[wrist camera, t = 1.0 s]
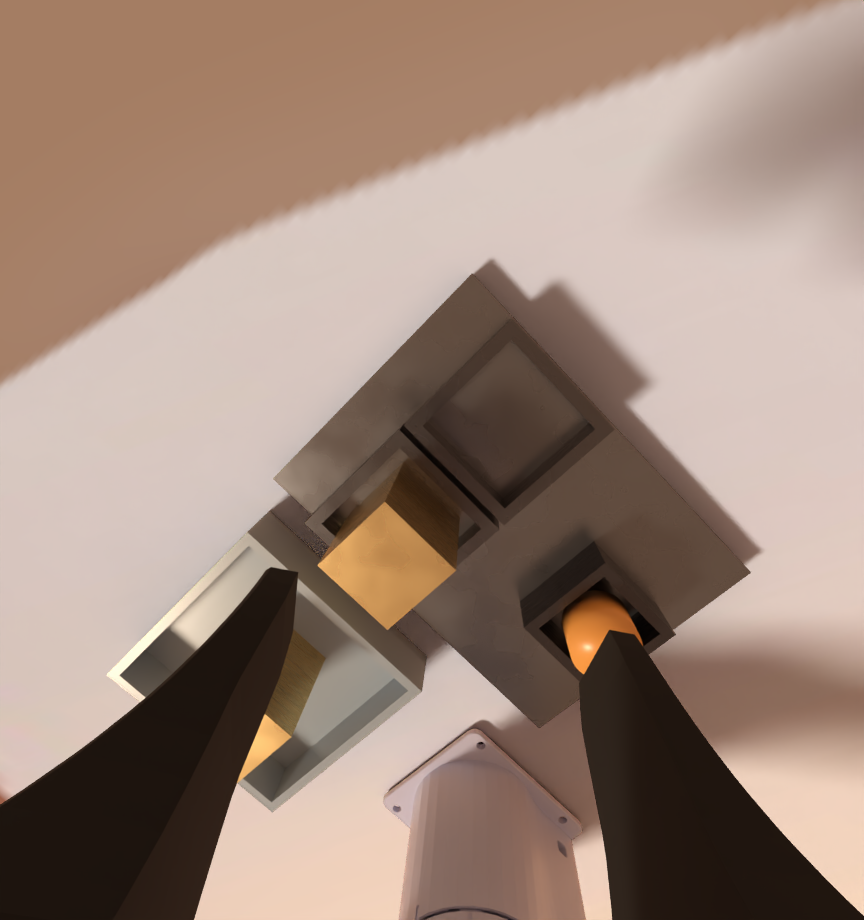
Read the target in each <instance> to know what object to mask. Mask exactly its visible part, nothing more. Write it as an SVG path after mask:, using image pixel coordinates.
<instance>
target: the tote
mask: <svg viewBox="0 0 864 920" xmlns="http://www.w3.org/2000/svg"><path fill="white" fill-rule="evenodd" d="M320 560H321V558H320V557H319V556H318V555H317V554H316V553H315V552H313V551H312V550H311V549H310V548H309V547H308V546H307V545H306V544H305V543H304V542H303V541H302V540H301V539H299V538H298V537H297V536H296V535H295V534H294V533H293V532H292V531H291V530H290V529H289V528H288V527H286V526H285V525H284V524H283V523H282V522H281V521H280V520H279V519H278V518H277V517H276V516H275V515H274V514H272V513H271V512H270V511H269V512H268V513H267V514H266V515H265V516H264V517H263V518H262V519H261V520H260V521H258V522H257V523H256V524H255V525H254V526H253V527H252V528H251V529H250V530H249V531H248V532H247V533H246V534H245V535H244V536H243V537H242V538H241V539H240V540H239V541H238V542H237V543H236V544H235V545H234V546H233V547H232V548H231V549H230V550H229V551H228V552H227V553H226V554H225V555H224V556H223V557H222V558H221V559H220V560H219V561H218V562H217V563H216V564H215V566H214V567H213V568H212V569H211V570H210V571H209V572H208V573H207V574H206V575H205V576H204V577H203V578H202V579H201V580H200V581H199V582H198V583H197V584H196V585H195V586H194V587H193V588H192V589H191V590H190V591H189V592H188V593H187V594H186V595H185V596H184V597H183V598H182V599H181V600H180V601H179V602H178V603H177V604H176V605H175V606H174V607H173V608H172V609H171V610H170V611H169V612H168V613H167V614H166V615H165V616H164V617H163V618H162V619H161V620H160V621H159V622H158V623H157V624H156V625H155V626H154V627H153V628H152V629H151V630H150V631H149V632H148V633H147V634H146V635H145V636H144V637H143V638H142V639H141V640H140V641H139V642H138V643H137V644H136V645H135V646H134V647H133V649H132V650H131V651H130V652H129V653H128V654H127V655H126V656H125V657H124V658H123V659H122V660H121V661H120V662H119V663H118V664H117V665H116V666H115V667H114V668H113V669H112V670H111V671H110V672H109V673H108V674H107V676H109V677H110V678H111V679H112V680H113V681H115V682H116V683H117V684H118V685H119V686H121V687H122V688H123V689H124V690H126V691H127V692H128V693H129V694H130V695H132V696H133V697H134V698H135V699H136V700H138V701H139V702H141V701H142V700H143V699H145V698H146V697H147V696H148V695H149V694H150V693H152V692H153V691H154V690H155V689H156V688H157V687H158V686H159V685H161V684H162V683H163V682H164V681H165V680H166V679H167V678H168V677H169V676H170V675H171V674H173V673H174V672H175V671H176V670H177V669H178V668H179V667H180V666H181V665H182V664H183V663H184V662H185V661H186V660H187V659H188V658H189V657H190V656H191V655H192V654H193V653H194V652H195V651H196V650H197V649H198V648H199V647H200V646H201V645H202V644H203V643H204V642H205V641H206V640H207V639H208V638H209V637H210V636H211V635H212V634H213V633H214V632H215V630H216V629H217V628H218V627H219V626H220V625H221V624H222V623H223V622H224V621H225V620H226V619H227V617H228V616H229V615H230V614H231V613H232V612H233V611H234V610H235V608H236V607H237V606H238V605H239V604H240V603H241V601H242V600H243V599H244V598H245V597H246V595H247V594H248V593H249V592H250V590H251V589H252V588H253V587H254V585H255V584H256V583H257V582H258V580H259V579H260V578H261V576H262V575H263V573H264V572H265V571H266V570H267V569H269V568H270V567H274V568H279V569H285V570H290V571H296V572H298V582H297V593H296V604H295V615H294V627H293V629H294V630H295V631H296V632H297V633H298V634H300V635H301V636H302V637H303V638H304V639H305V640H306V641H307V642H308V643H310V644H311V645H312V646H313V647H314V648H315V649H316V650H317V651H319V652H320V653H321V654H322V655H323V656H324V657H325V658H326V659H325V661H324V663H323V666H322V668H321V670H320V673H319V675H318V677H317V679H316V682H315V684H314V686H313V689H312V691H311V693H310V696H309V698H308V700H307V703H306V705H305V707H304V710H303V712H302V714H301V716H300V719H299V721H298V723H297V726H296V728H295V730H294V733H293V735H292V737H291V738H290V739H289V740H287V741H286V742H285V743H284V744H283V745H282V746H280V747H279V748H278V749H277V750H276V751H275V752H273V753H272V754H271V755H270V756H269V757H267V758H266V759H265V760H264V761H263V762H262V763H260V764H259V765H258V766H257V767H256V768H254V769H253V770H252V771H251V772H250V773H249V774H247V775H246V776H245V777H244V778H243V779H242V780H240V781H239V782H238V784H239V785H240V786H241V787H242V788H244V789H245V790H246V791H247V792H248V793H250V794H251V795H252V796H253V797H255V798H256V799H257V800H258V801H259V802H261V803H262V804H263V805H264V806H265V807H267V808H268V809H269V810H270V811H271V812H274V811H275V810H276V809H277V808H279V807H280V806H281V805H282V804H283V803H285V802H286V801H287V800H288V799H290V798H291V797H292V796H293V795H295V794H296V793H297V792H298V791H300V790H301V789H302V788H303V787H305V786H306V785H307V784H308V783H309V782H311V781H312V780H313V779H314V778H316V777H317V776H318V775H319V774H321V773H322V772H323V771H324V770H326V769H327V768H328V767H329V766H330V765H332V764H333V763H334V762H335V761H337V760H338V759H339V758H340V757H342V756H343V755H344V754H345V753H347V752H348V751H349V750H350V749H351V748H353V747H354V746H355V745H356V744H358V743H359V742H360V741H361V740H363V739H364V738H365V737H366V736H368V735H369V734H370V733H371V732H372V731H374V730H375V729H376V728H377V727H379V726H380V725H381V724H382V723H384V722H385V721H386V720H387V719H389V718H390V717H391V716H392V715H393V714H395V713H396V712H397V711H398V710H400V709H401V708H402V707H403V706H405V705H406V704H407V703H408V702H410V701H411V700H412V699H413V698H414V697H416V696H417V695H418V694H419V693H421V692H422V687H423V680H424V673H425V666H426V659H427V656H426V655H425V654H424V653H423V652H422V651H420V650H419V649H418V648H417V647H416V646H415V645H414V644H413V643H412V642H411V641H410V640H409V639H407V638H406V637H405V636H404V635H403V634H402V633H401V632H400V631H399V630H398V629H397V628H396V627H395V626H392V627H390V628H389V629H388V630H387V629H386V628H384V627H383V626H382V625H381V624H380V623H379V622H378V621H377V620H376V619H375V618H374V617H373V616H371V615H370V614H369V613H368V612H367V611H366V610H365V609H364V608H363V607H362V606H361V605H360V604H358V603H357V602H356V601H355V600H354V599H353V598H352V597H351V596H350V595H349V594H348V593H347V592H345V591H344V590H343V589H342V588H341V587H340V586H339V585H338V584H337V583H336V582H335V581H334V580H332V579H331V578H330V577H329V576H328V575H327V574H326V573H325V572H324V571H323V570H322V569H321V568H319V567H318V566H317V565H318V564H319V562H320Z"/></svg>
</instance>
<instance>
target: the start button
mask: <svg viewBox="0 0 864 920" xmlns="http://www.w3.org/2000/svg"><path fill="white" fill-rule="evenodd" d="M562 627H563V631H564V634H565V638H566V642H567V645H568V649H569V652H570V656H571V659H572V662H573V664H574V665H575V667H576V668H577V669H578V670H579V671H580V672H581V673H582V674H585V672H586V670H587V668H588V666H589V665H590V663H591V661H592V659H593V658H594V656H595V654H596V652H597V650H598V649H599V647H600V645H601V643H602V642H603V640H604V638H605V636H606V634H607V633H608V631H609V630H614V631H619V632H625V633H630V634H635V636H636V637H637V639H638V640H639V641H640V643H641V644H642V646H643V643H642V639H641V637H640V635H639V633H638V631H637V629H636V627H635V625H634V623H633V621H632V619H631V617H630V615H629V613H628V611H627V609H626V607H625V606H624V604H623V603H622V602H621V600H620V599H618V598H617V597H616V596H614V595H613V594H611V593H608V592H605V591H598V590H593V591H587V592H584V593H583V594H582V595H580V596H579V597H578V598H577V599H575V600H574V601H573V602H572V603H570V604H569V605H568V606H567V607H565V608H564V611H563V614H562Z"/></svg>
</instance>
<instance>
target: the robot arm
mask: <svg viewBox="0 0 864 920" xmlns="http://www.w3.org/2000/svg"><path fill="white" fill-rule="evenodd" d="M297 582H298V572H296V571H290V570H285V569H279V568H274V567H270V568H269V569H267V570H266V571H265V572H264V573H263V575H262V576H261V578H260V579H259V580H258V582H257V583H256V584H255V585H254V587H253V588H252V589H251V590H250V592H249V593H248V594H247V595H246V597H245V598H244V599H243V600H242V601H241V603H240V604H239V605H238V606H237V607H236V608H235V610H234V611H233V612H232V613H231V614H230V615H229V616H228V617H227V619H226V620H225V621H224V622H223V623H222V624H221V625H220V626H219V627H218V628H217V629H216V630H215V632H214V633H213V634H212V635H211V636H210V637H209V638H208V639H207V640H206V641H205V642H204V643H203V644H202V645H201V646H200V647H199V648H198V649H197V650H196V651H195V652H194V653H193V654H192V655H191V656H190V657H189V658H188V659H187V660H186V661H185V662H184V663H183V664H182V665H181V666H180V667H179V668H178V669H177V670H176V671H175V672H174V673H173V674H171V675H170V676H169V677H168V678H167V679H166V680H165V681H164V682H163V683H162V684H161V685H159V686H158V687H157V688H156V689H155V690H154V691H153V692H152V693H150V694H149V695H148V696H147V697H146V698H145V699H143V700H142V701H141V702H140V703H139V704H137V705H136V706H135V707H134V708H133V709H132V710H130V711H129V712H128V713H127V714H126V715H124V716H123V717H122V718H120V719H119V720H118V721H117V722H115V723H114V724H113V725H112V726H110V727H109V728H108V729H107V730H105V731H104V732H103V733H101V734H100V735H99V736H98V737H96V738H95V739H94V740H92V741H91V742H90V743H88V744H87V745H86V746H84V747H83V748H82V749H80V750H79V751H78V752H76V753H75V754H74V755H72V756H71V757H69V758H68V759H66V760H65V761H64V762H62V763H61V764H59V765H58V766H56V767H55V768H54V769H52V770H51V771H49V772H48V773H46V774H45V775H43V776H42V777H41V778H39V779H38V780H36V781H35V782H33V783H32V784H31V785H29V786H28V787H26V788H25V789H23V790H22V791H20V792H19V793H17V794H16V795H14V796H13V797H11V798H10V799H8V800H7V801H5V802H4V803H2V804H0V920H194V918H195V914H196V911H197V908H198V904H199V901H200V897H201V894H202V891H203V888H204V884H205V881H206V878H207V875H208V871H209V868H210V865H211V862H212V858H213V855H214V852H215V848H216V845H217V842H218V839H219V836H220V833H221V829H222V826H223V823H224V820H225V817H226V813H227V810H228V807H229V804H230V801H231V798H232V795H233V792H234V789H235V787H236V784H237V781H238V778H239V776H240V773H241V771H242V768H243V766H244V763H245V761H246V759H247V756H248V754H249V751H250V749H251V746H252V744H253V741H254V739H255V737H256V734H257V732H258V729H259V727H260V724H261V722H262V720H263V717H264V715H265V712H266V710H267V707H268V705H269V702H270V700H271V697H272V695H273V693H274V690H275V688H276V685H277V683H278V680H279V678H280V675H281V671H282V668H283V665H284V661H285V658H286V655H287V651H288V648H289V644H290V641H291V637H292V634H293V627H294V615H295V604H296V593H297ZM579 693H580V710H581V722H582V731H583V737H584V742H585V747H586V753H587V758H588V763H589V768H590V773H591V778H592V784H593V789H594V794H595V799H596V804H597V809H598V814H599V819H600V824H601V829H602V834H603V841H604V847H605V853H606V860H607V870H608V880H609V889H610V899H611V908H612V920H864V916H863V915H862V914H861V913H860V912H859V911H858V910H857V909H856V908H855V907H854V906H853V905H851V904H850V903H849V902H848V901H847V900H846V899H845V898H844V897H843V896H842V895H841V894H840V893H839V892H838V891H837V890H836V889H835V888H834V887H833V886H832V885H831V884H830V883H829V882H828V881H827V880H826V879H825V878H824V877H823V876H822V875H821V874H820V872H819V871H818V870H817V869H816V868H815V867H814V866H813V865H812V864H811V863H810V862H809V861H808V860H807V859H806V858H805V857H804V856H803V855H802V854H801V853H800V852H799V850H798V849H797V848H796V847H795V846H794V845H793V844H792V843H791V842H790V841H789V840H788V839H787V838H786V836H785V835H784V834H783V833H782V832H781V831H780V830H779V829H778V828H777V826H776V825H775V824H774V823H773V822H772V821H771V820H770V818H769V817H768V816H767V815H766V814H765V813H764V811H763V810H762V809H761V808H760V807H759V806H758V804H757V803H756V802H755V801H754V800H753V799H752V797H751V796H750V795H749V794H748V793H747V791H746V790H745V789H744V788H743V787H742V785H741V784H740V783H739V782H738V780H737V779H736V778H735V777H734V775H733V774H732V773H731V771H730V770H729V769H728V768H727V766H726V765H725V764H724V762H723V761H722V760H721V758H720V757H719V756H718V755H717V753H716V752H715V751H714V749H713V748H712V747H711V745H710V744H709V743H708V741H707V740H706V738H705V737H704V736H703V734H702V733H701V732H700V730H699V729H698V727H697V726H696V725H695V723H694V722H693V720H692V719H691V717H690V716H689V715H688V713H687V712H686V710H685V709H684V707H683V706H682V705H681V703H680V702H679V700H678V699H677V697H676V696H675V694H674V693H673V691H672V690H671V688H670V687H669V685H668V684H667V682H666V681H665V679H664V678H663V676H662V675H661V673H660V672H659V670H658V669H657V667H656V666H655V664H654V663H653V661H652V660H651V658H650V656H649V655H648V653H647V652H646V650H645V649H644V647H643V646H642V644H641V643H640V641H639V640H638V639H637V637H636V636H635V634H630V633H625V632H619V631H614V630H609V631H608V633H607V634H606V636H605V638H604V640H603V642H602V643H601V645H600V647H599V649H598V650H597V652H596V654H595V656H594V658H593V659H592V661H591V663H590V665H589V666H588V668H587V670H586V672H585V674H584V675H583V677H582V679H581V681H580V682H579ZM478 742H483V743H484V744H478ZM383 805H384V806H385V807H386V808H387V809H388V810H389V811H390V812H391V813H393V814H394V815H395V816H396V817H397V818H398V819H400V820H401V821H402V822H403V823H404V824H405V825H407V826H408V827H409V828H410V834H409V841H408V849H407V857H406V865H405V873H404V881H403V889H402V897H401V905H400V913H399V920H586V917H585V912H584V906H583V901H582V895H581V890H580V884H579V879H578V873H577V868H576V862H575V857H574V851H573V846H572V839H574V838H575V837H577V836H578V835H580V834H581V832H582V826H581V823H580V821H579V820H578V819H577V818H575V817H574V816H573V815H572V814H571V813H570V812H569V811H568V810H567V809H566V808H565V807H563V806H562V805H561V804H560V803H559V802H558V801H557V800H556V799H555V798H554V797H553V796H551V795H550V794H549V793H548V792H547V791H546V790H545V789H544V788H543V787H542V786H541V785H539V784H538V783H537V782H536V781H535V780H534V779H533V778H532V777H531V776H530V775H529V774H527V773H526V772H525V771H524V770H523V769H522V768H521V767H520V766H519V765H518V764H517V763H516V762H514V761H513V760H512V759H511V758H510V757H509V756H508V755H507V754H506V753H505V752H504V751H502V750H501V749H500V748H499V747H498V746H497V745H496V744H495V743H494V742H493V741H492V740H490V739H489V738H488V737H487V736H486V735H485V734H484V733H483V732H482V731H480V730H479V729H471V730H469V731H467V732H466V733H465V734H463V735H462V736H461V737H460V738H458V739H457V740H456V741H454V742H453V743H452V744H450V745H449V746H448V747H446V748H445V749H444V750H443V751H441V752H440V753H439V754H437V755H436V756H435V757H433V758H432V759H431V760H429V761H428V762H427V763H426V764H424V765H423V766H422V767H420V768H419V769H418V770H416V771H415V772H414V773H412V774H411V775H410V776H409V777H407V778H406V779H405V780H403V781H402V782H401V783H399V784H398V785H397V786H395V787H394V788H393V789H391V790H390V791H389V792H388V793H386V794H385V795H384V799H383ZM395 805H398V806H399V807H397V806H395ZM560 817H563V818H560Z"/></svg>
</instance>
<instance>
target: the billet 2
mask: <svg viewBox="0 0 864 920" xmlns="http://www.w3.org/2000/svg"><path fill="white" fill-rule="evenodd" d="M459 526H460V516H459V515H458V514H457V513H456V512H455V511H454V510H453V509H451V508H450V507H449V506H448V505H447V504H446V503H445V502H444V501H443V500H442V499H441V498H440V497H439V496H438V495H437V494H436V493H435V492H434V491H433V490H432V489H431V488H430V487H429V486H428V485H427V484H426V483H425V482H424V481H423V480H422V479H421V478H420V477H419V476H418V475H417V474H416V473H415V472H414V471H413V470H412V469H411V468H410V467H409V466H408V465H407V464H406V463H405V462H403V463H402V464H401V465H400V466H399V467H398V468H397V469H396V470H395V471H394V472H393V473H392V474H391V475H389V476H388V477H387V478H386V479H385V480H384V481H383V482H382V483H381V484H380V485H379V486H378V487H377V488H376V489H375V490H374V491H373V492H372V493H371V494H370V495H369V496H368V497H367V498H365V499H364V500H363V501H362V502H361V503H360V504H359V505H358V506H357V507H356V508H355V509H354V510H353V511H352V512H351V513H350V514H349V515H348V517H347V519H346V520H345V522H344V523H343V525H342V527H341V528H340V530H339V531H338V533H337V535H336V536H335V538H334V539H333V541H332V543H331V544H330V546H329V548H328V549H327V551H326V552H325V554H324V556H323V557H322V559H321V560H320V562H319V564H318V565H317V566H318V567H319V568H321V569H322V570H323V571H324V572H325V573H326V574H327V575H328V576H329V577H330V578H331V579H332V580H334V581H335V582H336V583H337V584H338V585H339V586H340V587H341V588H342V589H343V590H344V591H345V592H347V593H348V594H349V595H350V596H351V597H352V598H353V599H354V600H355V601H356V602H357V603H358V604H360V605H361V606H362V607H363V608H364V609H365V610H366V611H367V612H368V613H369V614H370V615H371V616H373V617H374V618H375V619H376V620H377V621H378V622H379V623H380V624H381V625H382V626H383V627H384V628H386V629H387V630H388V629H389V628H390V627H392V626H393V625H394V624H395V623H396V622H397V621H398V620H400V619H401V618H402V617H403V616H404V615H405V614H407V613H408V612H409V611H410V610H411V609H412V608H413V607H415V606H416V605H417V604H418V603H419V602H420V601H422V600H423V599H424V598H425V597H426V596H427V595H429V594H430V593H431V592H432V591H433V590H434V589H435V588H437V587H438V586H439V585H440V584H441V583H442V582H444V581H445V580H446V579H447V578H448V577H449V576H451V575H452V574H453V573H454V572H455V571H456V566H457V552H458V539H459Z"/></svg>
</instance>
